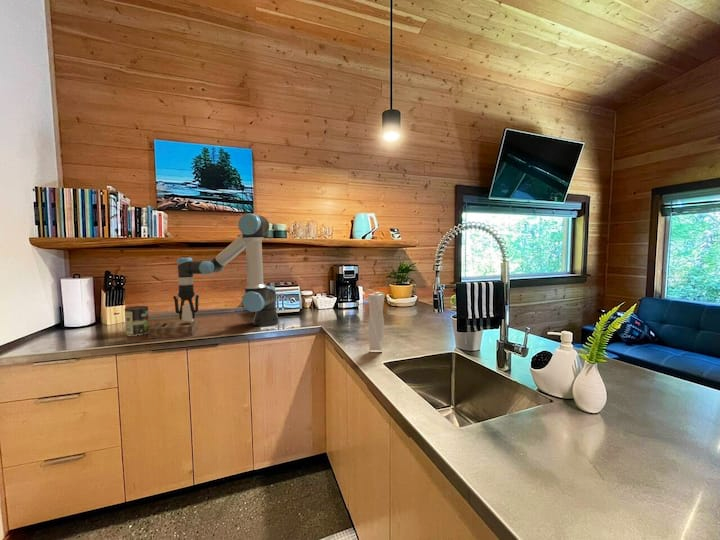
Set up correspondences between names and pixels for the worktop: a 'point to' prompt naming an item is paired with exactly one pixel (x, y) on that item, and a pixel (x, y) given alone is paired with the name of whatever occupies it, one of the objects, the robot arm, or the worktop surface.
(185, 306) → the square peg
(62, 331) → the worktop surface
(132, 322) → the coffee can
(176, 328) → the socket block
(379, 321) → the skyscraper
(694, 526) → the worktop surface
